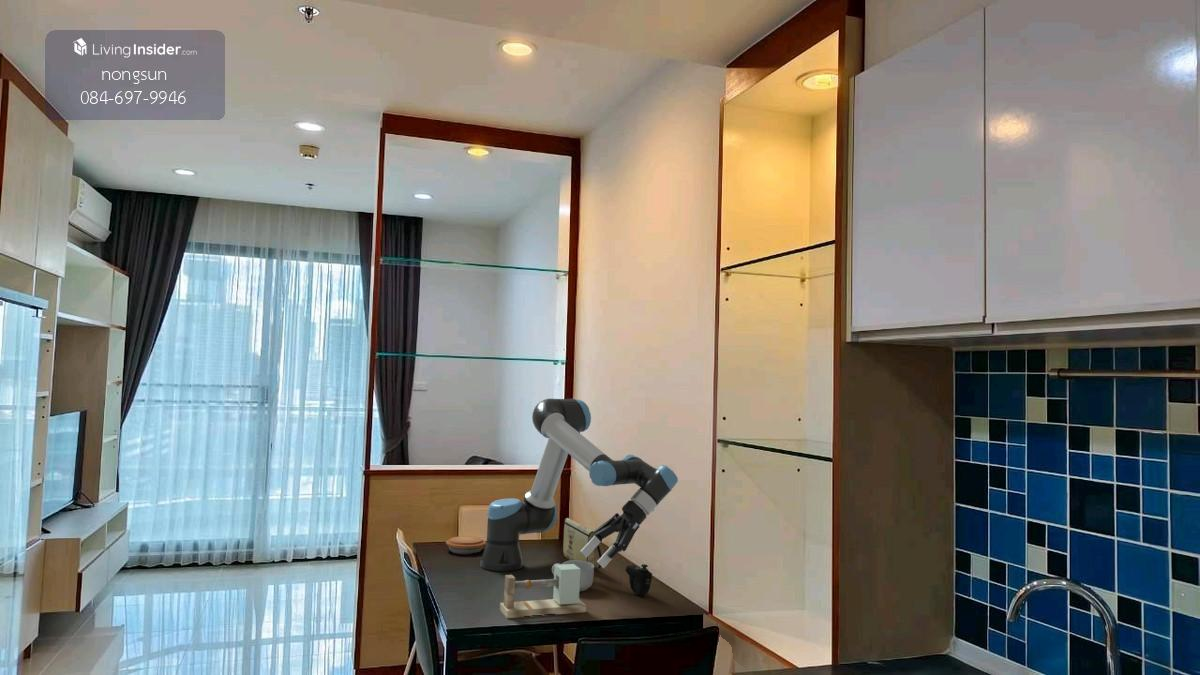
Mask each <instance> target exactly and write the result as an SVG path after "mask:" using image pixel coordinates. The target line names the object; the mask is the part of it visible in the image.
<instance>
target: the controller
mask: <svg viewBox="0 0 1200 675" xmlns="http://www.w3.org/2000/svg"><path fill="white" fill-rule="evenodd" d="M640 566H641V567H639V566H637V565H633V564H632V565H627V566H626V568H625V572H626V573H627V574H628V578H629V580H628V581H629V586H630V590H631V591H632V593H633V594H634V595H636V596H644V595H646V594H648V592H649V591H650V589H651V585H652V584H651V583H652V580H653V579H652V578H653V577H652V576H653V572H651V571H650V570H649V569H648V567H649V566H648V564H644V563H643V564H641V565H640Z"/></svg>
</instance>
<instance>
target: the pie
mask: <svg viewBox="0 0 1200 675" xmlns="http://www.w3.org/2000/svg"><path fill="white" fill-rule="evenodd" d="M486 543H487V541H486V540H484V539H483V538H481V537H477V536H471V535H460V536H453V537H450V538H449V539H447V540H446V541H445V544H446V545H447V546H448V548H449V550H450V552H451V553H453V554H455V555H457V554H458V555H473V554H472V553H476V554H478V553H477V552H479V553H480V552H481V551H482V549H483V547H485V546H486Z"/></svg>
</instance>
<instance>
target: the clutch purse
mask: <svg viewBox="0 0 1200 675" xmlns="http://www.w3.org/2000/svg"><path fill="white" fill-rule="evenodd" d="M562 528H563V530H562V532H563V533H562V534H563V536H562V554H563V557H564V558H566V559H568V561H572V560H580V561H586V562H590V563H592V564H593V565H594V569H601V568H602V566H601V565H600V564H599V563H598V566H597V567H596V566H595V559H596V558H595V557H596V550H597V554H598V560H599V559H600V558H601V557H602V551H601V548H600V544H599V545H598V546H597V547H596V548H595V549H594V550H593V551H592V552H591V553H590V555H589V556H588V557H587V558H586V557H585V556H584V555H583V554H582V553H581V550H582V549H583V548H584V547H585V545H586V544H587V543H588V542H589V541H590V540H591V539H592V538H593V537H594V536H595V535H594V530H591V529H590V528H587V527H585V526H583V525H582V524H579V523H577V522H576V521H574V520H573V519H571V518H570V517H565V518H564V520H563V527H562Z"/></svg>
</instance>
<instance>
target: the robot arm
mask: <svg viewBox="0 0 1200 675" xmlns="http://www.w3.org/2000/svg"><path fill="white" fill-rule="evenodd" d="M531 417H532V418H531V419H532V424H533V425H534V428H535V429H536V430H537V432H539V434H541V435H542V436H543V437H544V438H545V439H548V440H547V443H546V446H545V448H544V451H543V454H542V457H541V459H540V463H539V466H538V470H537V472H536V475H535V478H534V481H533V484H532V486H531V489H530V490H529V491H527V492H526V493H525V494H524V496H523V501H521V500H520V499H519V498H512V497H511V498H500V499H496V500H494V501H492V502H491V503H490V504H489V506H488V510H487V525H486V526H487V529H486V544H485V546H484V547H485V548H484V550H483V552H482V555H481V558H480V565H479V567H480V568H482V569H484V570H488V571H492V572H493V571H495V572H511V571H517V570H520V569H523V567H524V566H523V565H524V564H523V563H524V559H523V557H522V552H521V547H520V536H521V535H527V534H528V535H529V534H535V533H536V534H539V533H540V534H541V533H543V532H547V531H550V530H551V529H552V528H553V527H554V526H555V524H556V522H557V519H558V513H557V511H558V509H557V506H556V500H555V499H554V495H555V492H556V490H557V487H558V484H559V481H560V479H561V475H562V472H563V471H564V470H563V469H564V466H565V464H566V461H567V458H568V455H569V456H570V457H572V458H573V459H574V460H576V462H578V463H579V464H580V465H581V466H583V468H584V469H586V470H587V471H588V473H589V474H588V475H589V478H590V479H591V483H592V484H593V485H595V486H598V487H600V486H601V487H610V486H616V485H617V486H618V485H619V486H620V485H628V484H629V485H630V484H633V485H634V484H635V485H636V486H638V487H639V489H637V490H636V491H635V492H634V494H633V495H631V497H630V500H627V502H626V503H625V504H624V505H623V506H622V507H621V511H622V514H621V515H620V514H619V513H618V512H617V513H615V514H614V515H613V516H612V517H611V518H609V519H608V520H607V521H605V522H603V523H602V524H601V525H600V526H598V527H597V528H596V529H595V530H593V532H594V535H595V536H594V537H593V538H592V539H591V540H590V541H589V542H588V543H587V544H586V545H585V547H584V548H583V549H582V550H581V553H582V554H583V555H584V556H585V557H586V558H587V557H588V556H589V555H590V553H591V552H592V551H593V550H594V549H595V548H596V549H597V546H598V545H599V546H600V544H601V543H602V541H603V539H605V538H607V537H608V536H610V535H612V534H614V533H617V537H616V538H615V542H612V545H610V546H609V548H608V549H607V550H606V551H605V552H604V553H603V554H601V556H602V557H601V558H600V559H599V558H598V559H597V561H596V563H598V565H599V564H600V565H601V568H603V569H605V568H606V567H607V565H608V564H609V563H610V562H611V561H612V560H613V559H614V558H615V556H617V554H618V553H619V552H626V550H627V548H628V547H629V545H630V543H631V541H632V539H633V538H634V537H635V536H634V535H635V534H636V532H637V531H638V530H639V528H640V525H642V523H643V522H644V521H645V520H646V519H647V516H649V515H650V514H651V513H652V512H654V511H655V509H656V507H657V506H658V505H659V504H660V503H661V501H662V500H664V499H665V497H666V496H667V495H668V494H669V493H670V492H671V491H672V490H673V488H674V487H676V485H677V483H678V482H679V481H678V479H679V478H678V476H677V474H676V473H675V472H674V471H673V470H672V469H671V468H669V467H668V466H667V465H664V464H661V465H659V467H657V468H656V467H653V466H652V465H651V464H649V463H647V462H646V461H644V460H643V459H642V458H640V457H638V456H636V455H634V454H627V455H626V456H623V458H622V459H620V460H619V459H618V460H614V459H612V458H611V457H610V456H608V455H607V454H606V453H604V452H603V451H602V450H601V449H599V447H597V446H596V445H595V444H594V443H593V442H591V441H590V440H588V438H586V437H585V436H584V435H583V434H581V433H583V432H585V431H587V430H588V429H590V428H589V427H590V425H591V421H592V415H591V410H590V408H589V406H588V405H587V403H586V402H585V401H583V400H582V399H575V398H545V399H543V400H541V401H539V402H538V403H537V404H536V405H535V407H534V409H533V412H532V416H531ZM522 566H523V567H522ZM519 568H520V569H519Z"/></svg>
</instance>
